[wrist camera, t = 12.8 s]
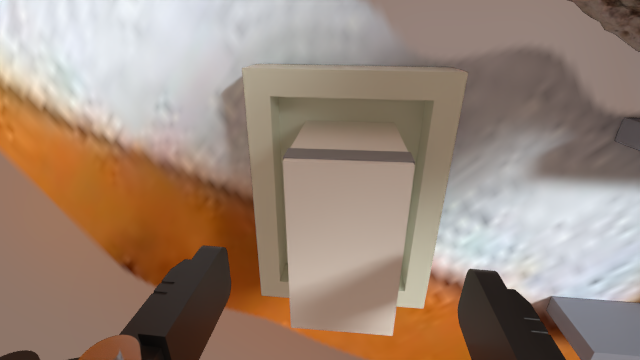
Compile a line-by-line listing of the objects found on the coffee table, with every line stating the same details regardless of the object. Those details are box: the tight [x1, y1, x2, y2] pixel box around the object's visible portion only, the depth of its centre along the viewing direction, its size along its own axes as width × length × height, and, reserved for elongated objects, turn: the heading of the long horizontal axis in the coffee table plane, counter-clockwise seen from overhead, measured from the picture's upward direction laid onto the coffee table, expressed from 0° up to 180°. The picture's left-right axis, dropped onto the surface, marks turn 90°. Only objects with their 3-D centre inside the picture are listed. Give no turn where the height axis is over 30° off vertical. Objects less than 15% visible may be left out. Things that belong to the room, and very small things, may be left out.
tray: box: [242, 64, 468, 308], centre depth 18 cm, size 13×10×2 cm
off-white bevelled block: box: [283, 120, 415, 336], centre depth 15 cm, size 8×5×6 cm, turn 0°
